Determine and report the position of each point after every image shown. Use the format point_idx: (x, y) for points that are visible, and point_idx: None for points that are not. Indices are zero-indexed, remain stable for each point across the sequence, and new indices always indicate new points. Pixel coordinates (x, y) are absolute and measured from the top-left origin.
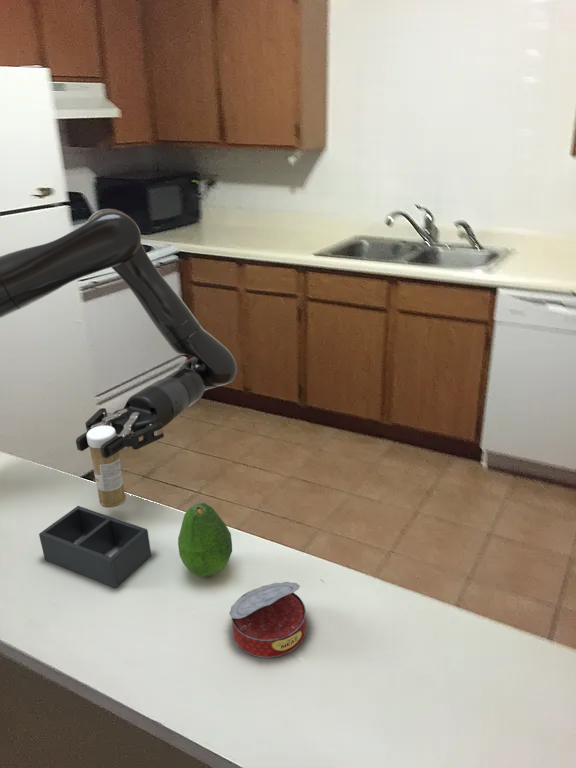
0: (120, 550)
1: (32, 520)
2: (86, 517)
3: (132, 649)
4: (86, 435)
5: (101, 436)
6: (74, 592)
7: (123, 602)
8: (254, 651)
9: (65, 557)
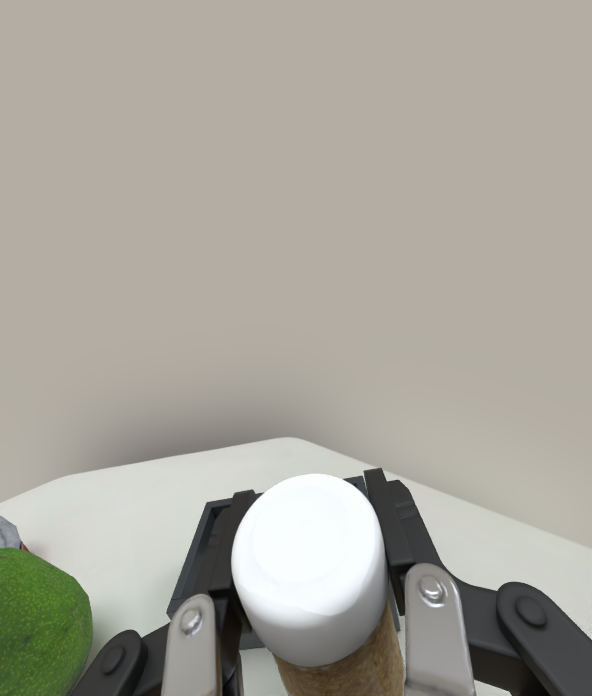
0: (200, 527)
1: (541, 582)
2: None
3: (165, 490)
4: (374, 505)
5: (267, 501)
6: None
7: None
8: None
9: None
